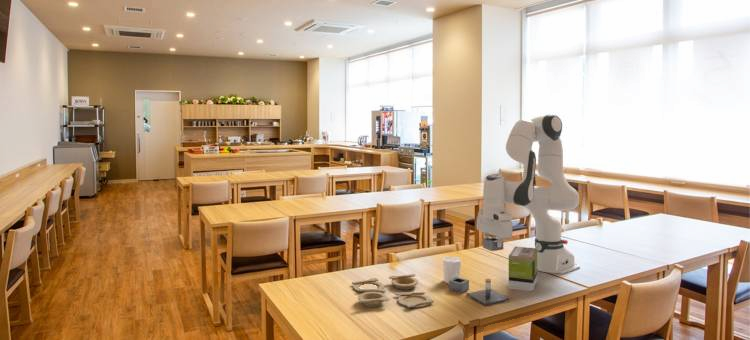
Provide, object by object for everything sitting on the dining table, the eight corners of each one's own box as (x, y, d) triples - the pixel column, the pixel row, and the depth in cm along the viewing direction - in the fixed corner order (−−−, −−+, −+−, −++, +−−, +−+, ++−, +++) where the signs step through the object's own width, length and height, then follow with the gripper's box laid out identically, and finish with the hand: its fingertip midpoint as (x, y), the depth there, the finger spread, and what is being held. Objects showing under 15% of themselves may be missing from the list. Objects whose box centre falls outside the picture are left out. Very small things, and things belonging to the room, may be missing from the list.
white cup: (460, 284, 210) (460, 262, 208) (442, 283, 211) (442, 261, 210) (461, 278, 217) (461, 257, 216) (443, 277, 219) (443, 256, 218)
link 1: (456, 286, 208) (456, 277, 208) (468, 289, 204) (469, 280, 204) (448, 290, 204) (449, 280, 203) (461, 293, 200) (461, 283, 199)
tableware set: (437, 309, 185) (437, 299, 184) (360, 315, 180) (360, 305, 180) (414, 278, 219) (414, 270, 219) (350, 283, 215) (350, 274, 214)
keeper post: (490, 290, 202) (491, 273, 201) (509, 300, 191) (510, 282, 190) (466, 295, 197) (466, 277, 196) (484, 306, 186) (485, 286, 185)
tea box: (514, 277, 218) (514, 245, 216) (537, 280, 213) (538, 247, 212) (507, 288, 204) (508, 254, 203) (532, 292, 200) (533, 257, 198)
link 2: (494, 246, 212) (494, 237, 212) (503, 249, 206) (503, 240, 206) (483, 247, 210) (483, 238, 209) (491, 251, 204) (491, 241, 204)
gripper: (473, 209, 215) (472, 240, 216) (502, 218, 196) (502, 251, 197) (484, 208, 217) (484, 238, 219) (515, 216, 198) (514, 249, 200)
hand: (493, 244), depth 208 cm, fingers closed on link 2, 6 cm apart
